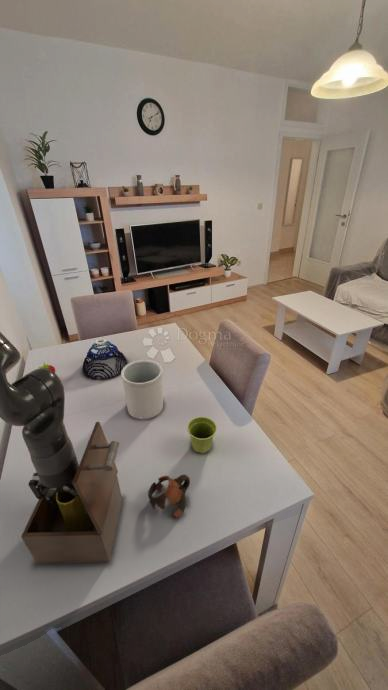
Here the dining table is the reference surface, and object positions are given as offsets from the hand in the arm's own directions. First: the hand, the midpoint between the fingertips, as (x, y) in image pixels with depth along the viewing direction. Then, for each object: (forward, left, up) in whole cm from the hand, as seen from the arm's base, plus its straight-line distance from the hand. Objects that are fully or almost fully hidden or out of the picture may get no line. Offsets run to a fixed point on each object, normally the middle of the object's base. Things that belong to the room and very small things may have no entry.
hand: (72, 504), depth 65 cm
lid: (+8, 0, +10) cm, 13 cm away
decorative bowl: (-13, +72, -11) cm, 74 cm away
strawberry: (-35, +61, -11) cm, 71 cm away
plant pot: (+31, +25, -11) cm, 42 cm away
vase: (0, 0, -10) cm, 10 cm away
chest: (0, 0, -10) cm, 10 cm away
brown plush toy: (+22, +7, -11) cm, 26 cm away
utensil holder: (+10, +44, -11) cm, 46 cm away
